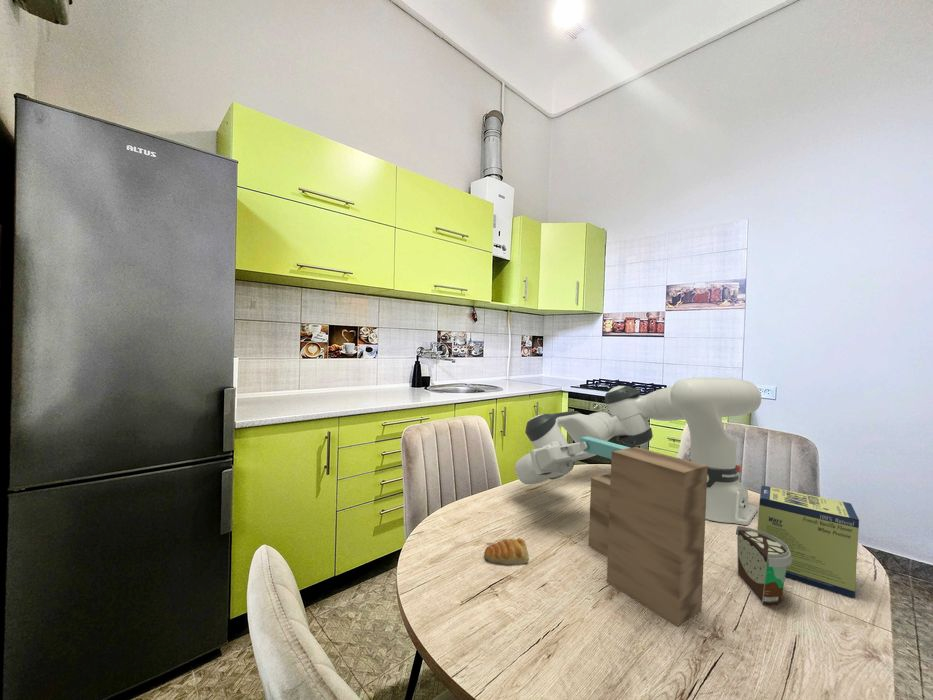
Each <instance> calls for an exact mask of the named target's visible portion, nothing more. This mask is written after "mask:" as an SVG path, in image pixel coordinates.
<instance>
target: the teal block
mask: <svg viewBox="0 0 933 700" xmlns="http://www.w3.org/2000/svg"><path fill="white" fill-rule="evenodd" d="M586 441H587V442H588V443H589V446H590V448H589V449H587V450H583V451H586V452H590V453H593V454H596V456H600V457H603V458H605V459H610V460H611V456H612V451H617V450H623V449H628V448H631V446H627V445H623V444H617V443H614V442H611V441H604V440H600V439H596V438H592V437H589V436H588V437H581V438H580V443H581V442H586Z"/></svg>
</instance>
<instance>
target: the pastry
mask: <svg viewBox="0 0 933 700" xmlns="http://www.w3.org/2000/svg"><path fill="white" fill-rule="evenodd" d="M483 556H484V558H485V559H486V560H487V561H488V562H490V563H493V564H499V565H505V566H509V565H510V566H511V565H512V566H513V565H524V564H527V563H528V562H529V561H530V555H529V550H528V546H527V544H526V542H525V539H523V538H521V537H518V538H517V539H516V538H505V539H502V540H501V541H498V542H494V543H492V544H490V545H489V546H486V548H485V550H484V553H483Z"/></svg>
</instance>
